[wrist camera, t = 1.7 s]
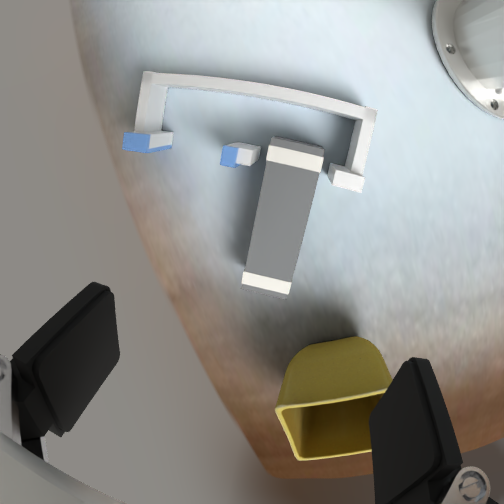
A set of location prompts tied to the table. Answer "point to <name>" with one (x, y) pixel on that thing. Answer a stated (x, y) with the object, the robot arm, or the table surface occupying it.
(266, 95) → the white arch handle
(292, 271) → the white-capped gray brick
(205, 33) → the table surface
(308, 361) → the flower pot
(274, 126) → the table surface
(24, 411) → the robot arm
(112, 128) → the table surface
